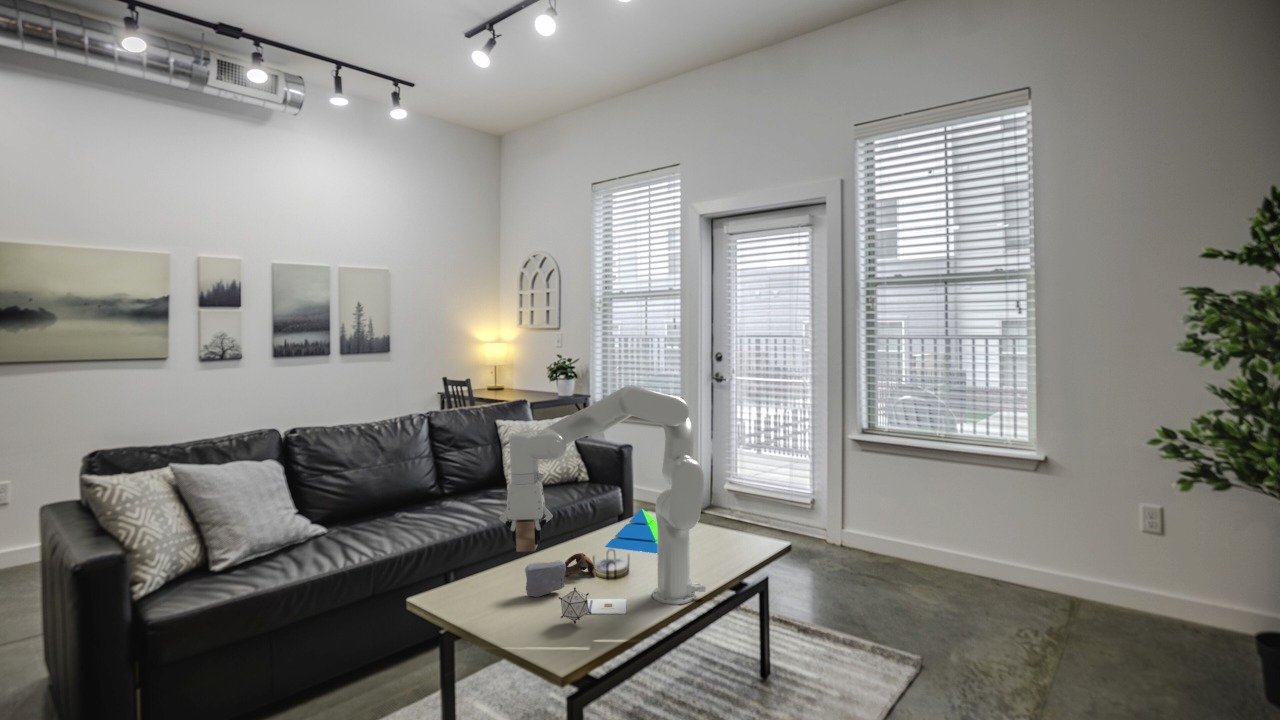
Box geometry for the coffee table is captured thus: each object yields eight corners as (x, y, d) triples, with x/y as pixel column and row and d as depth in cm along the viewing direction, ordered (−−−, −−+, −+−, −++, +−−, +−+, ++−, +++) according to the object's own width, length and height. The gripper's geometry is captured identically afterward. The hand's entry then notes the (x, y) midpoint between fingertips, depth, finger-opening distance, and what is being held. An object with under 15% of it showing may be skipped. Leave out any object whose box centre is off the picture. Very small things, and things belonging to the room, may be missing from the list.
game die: (551, 625, 165) (551, 588, 165) (572, 614, 172) (572, 578, 172) (577, 634, 160) (577, 595, 160) (598, 622, 167) (597, 585, 167)
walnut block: (537, 545, 176) (536, 517, 176) (534, 551, 171) (533, 521, 171) (519, 546, 176) (518, 517, 176) (516, 551, 171) (515, 522, 171)
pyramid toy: (598, 552, 229) (598, 513, 229) (622, 534, 253) (622, 498, 252) (664, 559, 221) (664, 519, 221) (682, 539, 245) (682, 503, 244)
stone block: (526, 601, 182) (525, 567, 182) (524, 595, 186) (524, 562, 186) (566, 597, 185) (566, 563, 185) (564, 591, 189) (564, 558, 189)
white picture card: (626, 599, 183) (626, 598, 183) (625, 614, 173) (625, 612, 173) (585, 600, 183) (585, 598, 183) (582, 614, 173) (582, 612, 173)
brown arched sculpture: (598, 582, 197) (586, 561, 196) (571, 594, 198) (559, 574, 196) (598, 561, 209) (587, 541, 207) (573, 573, 210) (561, 554, 208)
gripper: (557, 474, 177) (559, 538, 177) (497, 476, 177) (499, 540, 177) (553, 480, 170) (555, 546, 170) (490, 482, 170) (493, 549, 170)
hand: (526, 543), depth 174 cm, fingers closed on walnut block, 5 cm apart
